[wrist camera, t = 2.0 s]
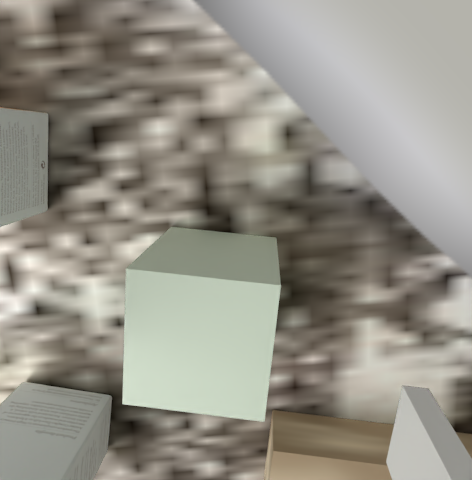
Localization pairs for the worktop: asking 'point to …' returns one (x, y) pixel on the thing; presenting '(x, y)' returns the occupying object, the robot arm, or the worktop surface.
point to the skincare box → (53, 433)
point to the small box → (23, 164)
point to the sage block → (202, 323)
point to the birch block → (330, 448)
